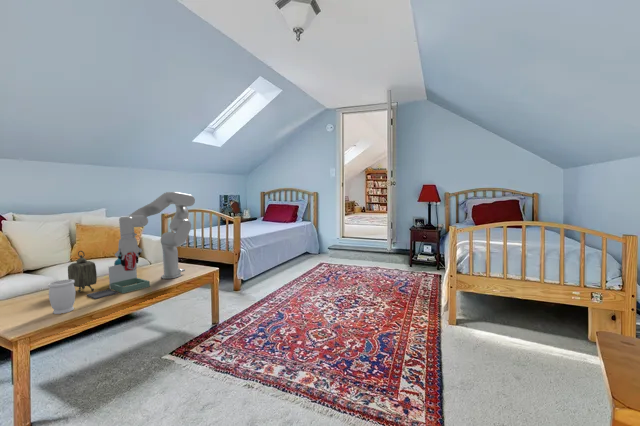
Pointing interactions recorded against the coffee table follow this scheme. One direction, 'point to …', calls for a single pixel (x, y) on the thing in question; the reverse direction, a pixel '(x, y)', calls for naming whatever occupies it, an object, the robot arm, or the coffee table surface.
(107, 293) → the mat
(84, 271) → the tabletop clock
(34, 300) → the coffee table surface
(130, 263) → the soda can
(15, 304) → the coffee table surface
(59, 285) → the jar
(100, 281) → the coffee table surface
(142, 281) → the tray
